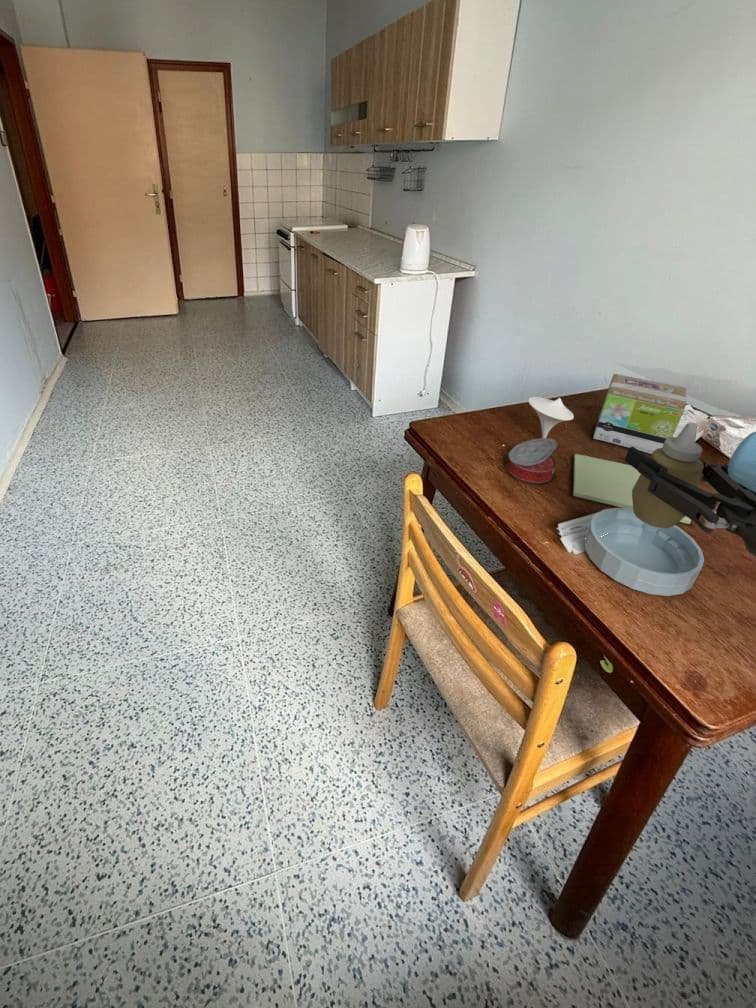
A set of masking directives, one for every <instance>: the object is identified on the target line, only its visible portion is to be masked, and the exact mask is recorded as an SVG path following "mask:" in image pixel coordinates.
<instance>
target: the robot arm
mask: <svg viewBox="0 0 756 1008" xmlns="http://www.w3.org/2000/svg"><path fill="white" fill-rule="evenodd" d="M699 459H700V460H701V462H702V463H703V466H704V468H703V471H702V476H701V478H700V482H701V483H708V484H709V485H710V486H711V487H712V488H713V489H714V490H715V491H716V492H717V493H711V492H710V491H707V490H705V489H703V488H701V487H699V486H698V487H696V486H694V485H692V484H690V483H688V482H685V481H683V480H681V479H679V478H677V477H674V476H672V475H670V474H668V473H666V472H667V468H665V467H663V466H662V465H660V464H658V463H657V462H656V461H654V460H653V459H651V458H650V456H648V455H646V454H645V452H643V451H639V450H637V449H636V448H634V447H629V448H627V452H626V455H625V458H624V459H623V461H624V462H626V464H627V465H631V466H632V467H634V468H635V469H637V471H638V472H639V473H640V474H642V475H643V476H645V477H646V478H647V479H649V480H650V481H651V482H650V484H649V487H648V491H649V492H650V493H651V494H653V495H654V496H656V497H658V498H659V499H661V500H662V501H664V502H665V503H667V504H668V505H670V506H671V507H673V508H674V509H676V510H677V511H679V512H680V513H682V514H683V515H685V516H686V517H688V518H689V519H691V522H694V524H695V525H697V527H698V528H699V529H700V530H702V531H703V532H704V533H707V534H712V533H713V532H714V530H715V529H724V530H726V531H727V532H729V533H732V534H734V535H736V536H738V537H739V538H740V539H742V541H743V544H744V546H745V549H746V550H747V552H749V553H750V554H751V555H753V556H754V557H756V431H752V432H750V433H749V434H748V435H747V436H746V437H745V438H743V439H742V441H741V442H739V444H738V445H737V446H736V448H735V449H734V451H733V453H732V455H731V456H730V459H729V461H728V463H722V464H721V465H717V464H716V463H713V462H707V461H705V460H704V459H702V458H701V457H699Z"/></svg>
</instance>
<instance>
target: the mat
mask: <svg viewBox="0 0 756 1008" xmlns="http://www.w3.org/2000/svg"><path fill="white" fill-rule="evenodd" d="M573 455H574V456H573V483H572V485H573V487H572V496H573V497H577V498H581V499H585V500H589V501H592V502H593V501H594V502H596V503H602V504H605V505H610V506H613V507H616V508H626V509H633V500H632V489H633V487H634V486H635V484H636V482H637V480H638V478H639V476H640V475H641V474H640V473H639V472H638V471H637V469H635V468H634V467H632V466H631V465H629V464H627V463H622V462H616V461H612V460H607V459H603V458H597V457H593V456H587V455H582V454H579V453H574V454H573ZM691 522H692V520H691V519H689V518H688V517H686V516H685V517H684V518H683V519H682V520H680V521H679V522H678V523H683V524H687V525H691Z"/></svg>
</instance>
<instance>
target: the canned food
mask: <svg viewBox="0 0 756 1008" xmlns="http://www.w3.org/2000/svg"><path fill="white" fill-rule="evenodd" d="M557 447H558V443H557V440H556V439H553V438H550V437H546V438H542V437H540V438H532V439H530V440H526V441H522V442H521V443H519V444H516V445H515V446H514V447H513V448H511V450H510V451H509V452H508V455H507V460H506V464H505V467H506V470H507V471H508V473H509V474H510V475H512V476H513V477H515V478H516V479H519V480H521V481H523V482H528V483H532V484H541V483H545V482H546V483H547V482H549V481H551V480H552V479H553V477H554V473H555V469H556V466H557V462H556V460H555V458H554V457H553V456H552V454H553V452H554V451H555V450H556V449H557Z"/></svg>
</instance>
